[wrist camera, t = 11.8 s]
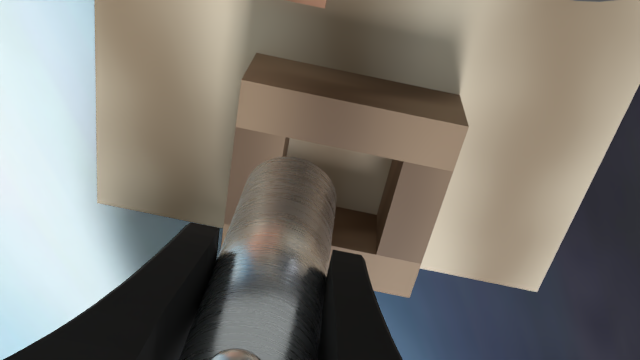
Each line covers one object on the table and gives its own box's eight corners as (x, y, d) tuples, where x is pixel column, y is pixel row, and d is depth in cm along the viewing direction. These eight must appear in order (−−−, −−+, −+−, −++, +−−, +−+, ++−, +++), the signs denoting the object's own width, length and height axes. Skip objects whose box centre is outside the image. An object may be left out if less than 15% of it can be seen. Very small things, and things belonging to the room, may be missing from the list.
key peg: (352, 126, 14) (324, 409, 7) (321, 273, 17) (279, 592, 10) (253, 108, 14) (132, 375, 7) (237, 257, 17) (133, 566, 10)
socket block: (459, 95, 20) (469, 127, 18) (406, 255, 24) (409, 297, 22) (256, 52, 20) (241, 79, 18) (234, 220, 24) (219, 259, 22)
